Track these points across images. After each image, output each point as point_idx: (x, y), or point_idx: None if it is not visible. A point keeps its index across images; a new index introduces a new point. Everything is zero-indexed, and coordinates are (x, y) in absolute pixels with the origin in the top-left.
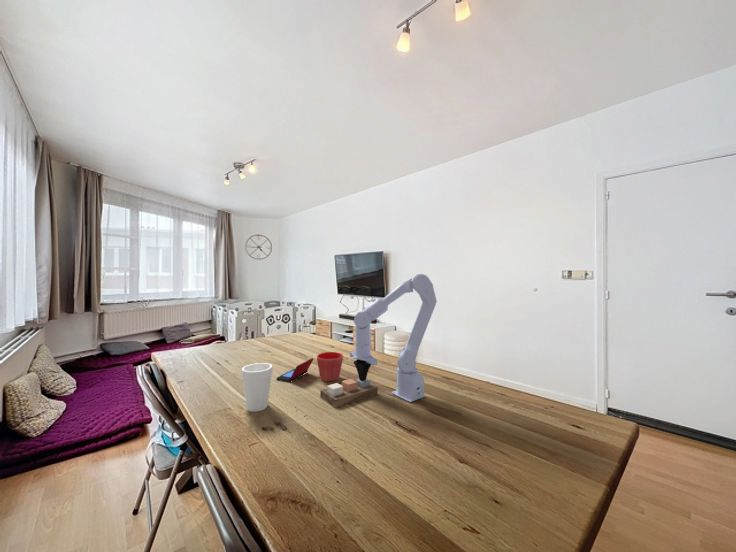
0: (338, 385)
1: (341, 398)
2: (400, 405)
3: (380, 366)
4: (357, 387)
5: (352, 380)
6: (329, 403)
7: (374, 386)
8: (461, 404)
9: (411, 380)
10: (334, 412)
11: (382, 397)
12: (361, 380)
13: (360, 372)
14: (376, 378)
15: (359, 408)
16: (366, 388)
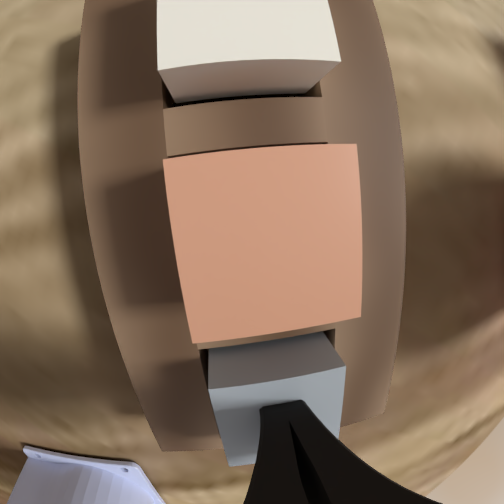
0: (235, 29)
1: (80, 49)
2: (3, 402)
3: (439, 481)
4: None
5: (286, 308)
6: None
7: (179, 441)
8: None
9: None
10: (59, 12)
11: (102, 405)
12: (260, 410)
13: (271, 486)
14: (372, 466)
15: (9, 184)
16: (166, 380)
